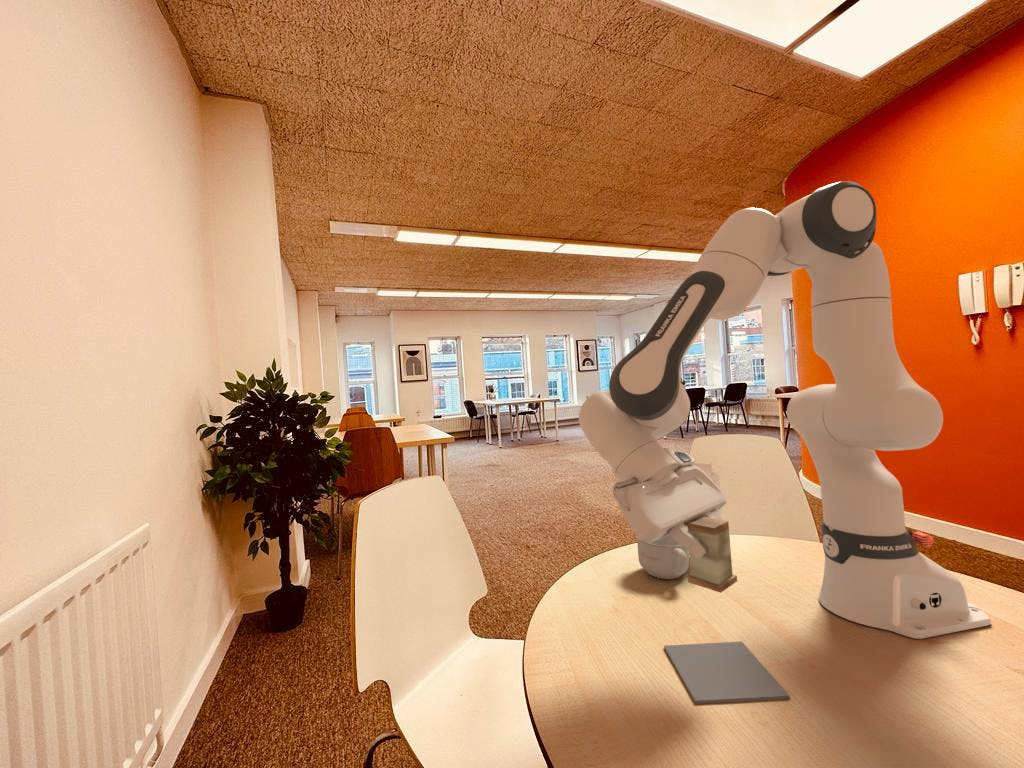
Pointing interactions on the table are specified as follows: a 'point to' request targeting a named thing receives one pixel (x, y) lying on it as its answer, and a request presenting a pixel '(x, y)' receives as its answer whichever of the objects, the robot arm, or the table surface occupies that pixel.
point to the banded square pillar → (711, 555)
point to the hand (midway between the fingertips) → (713, 549)
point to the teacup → (663, 557)
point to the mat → (723, 673)
